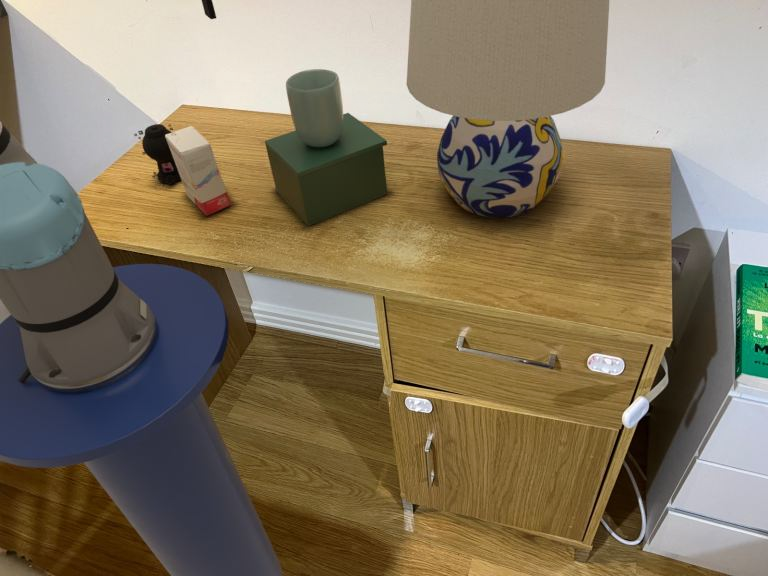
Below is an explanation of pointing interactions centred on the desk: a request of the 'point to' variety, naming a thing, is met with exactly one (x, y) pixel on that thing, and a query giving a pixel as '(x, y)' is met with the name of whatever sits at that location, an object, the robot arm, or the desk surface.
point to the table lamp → (504, 90)
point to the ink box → (198, 170)
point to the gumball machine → (160, 152)
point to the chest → (331, 185)
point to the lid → (312, 159)
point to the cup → (316, 106)
